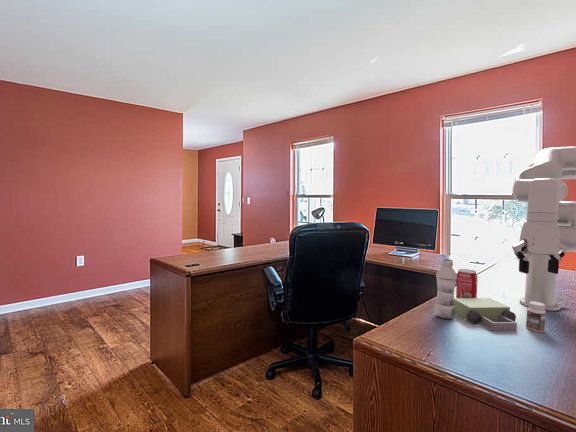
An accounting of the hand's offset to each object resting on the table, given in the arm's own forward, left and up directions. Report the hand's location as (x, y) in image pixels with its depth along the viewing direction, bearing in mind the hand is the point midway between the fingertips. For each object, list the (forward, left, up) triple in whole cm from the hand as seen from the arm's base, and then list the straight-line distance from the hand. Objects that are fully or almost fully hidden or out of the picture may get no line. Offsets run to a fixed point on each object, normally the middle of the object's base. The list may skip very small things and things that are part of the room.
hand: (538, 272), depth 102 cm
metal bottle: (+24, -11, -18) cm, 32 cm away
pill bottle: (0, 0, -18) cm, 18 cm away
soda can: (+7, -25, -18) cm, 32 cm away
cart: (+11, -8, -18) cm, 23 cm away
